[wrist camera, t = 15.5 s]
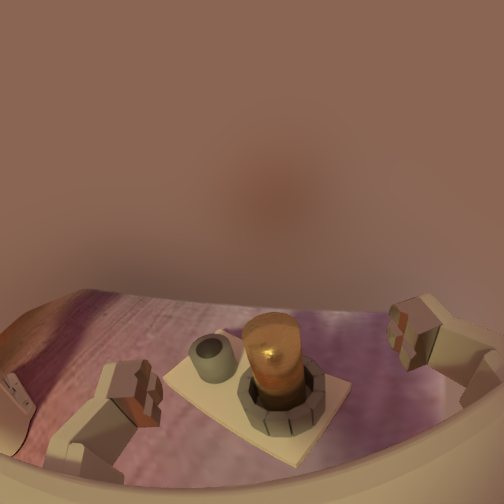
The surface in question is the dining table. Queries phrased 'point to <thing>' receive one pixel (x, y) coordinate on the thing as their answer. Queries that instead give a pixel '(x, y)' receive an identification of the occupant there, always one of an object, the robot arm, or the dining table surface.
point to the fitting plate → (235, 412)
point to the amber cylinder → (276, 360)
